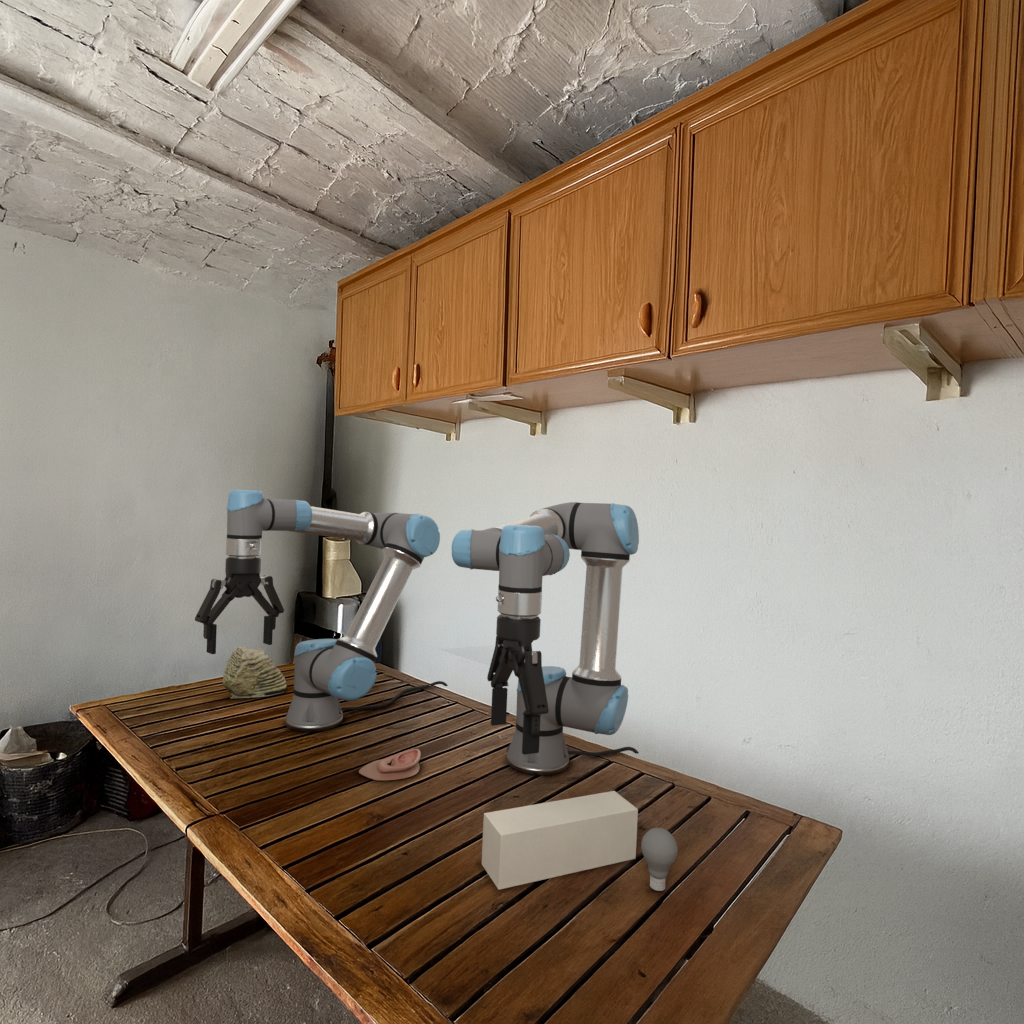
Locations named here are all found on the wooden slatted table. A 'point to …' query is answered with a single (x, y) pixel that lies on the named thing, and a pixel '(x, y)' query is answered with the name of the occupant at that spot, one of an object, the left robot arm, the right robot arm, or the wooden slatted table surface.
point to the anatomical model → (393, 766)
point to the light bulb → (659, 855)
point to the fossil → (252, 674)
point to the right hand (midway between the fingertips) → (513, 738)
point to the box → (558, 838)
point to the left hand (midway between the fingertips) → (240, 648)
